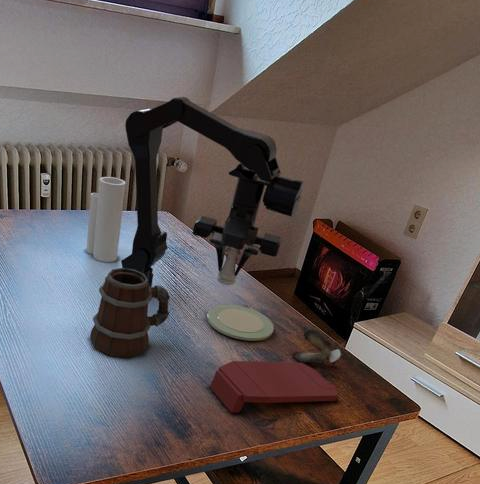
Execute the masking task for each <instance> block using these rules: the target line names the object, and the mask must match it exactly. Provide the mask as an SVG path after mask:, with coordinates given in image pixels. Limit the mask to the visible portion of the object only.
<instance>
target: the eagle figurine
mask: <svg viewBox="0 0 480 484" xmlns="http://www.w3.org/2000/svg"><path fill="white" fill-rule="evenodd" d="M303 337H304V339H305V340H306V341H307V342H308V343H309V344H310V345H311V346H312V347H314V348H315V349H317V350H319V352H318V351H317V352H316V351H315V352H313V351H311V352H309V351H308V352H299V353H296V354H295V355H294V358H295V359H296V360H297V361H299V363H304V364H305V363H316V364H323V363H324V362H325V361H326V360H327V361H329V362H330V363H331V367H332V368H336V367H335V366H336V363H340V360H339V359H340V358H341V357H342V356H344V353H342V351H343V348H344V345H345V343H341V344H340V346H339V347H338V348H336V349H333V345H332V342H331V341H330V340H328V339H326V338H325V336H323V334H322V332H321V331H319V330H316V329H312V328H309V329H307V330H305V331H304V332H303ZM332 349H333V350H332Z"/></svg>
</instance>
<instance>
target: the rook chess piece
mask: <svg viewBox="0 0 480 484" xmlns="http://www.w3.org/2000/svg"><path fill="white" fill-rule="evenodd" d="M225 252H226V256H225V261H224V262H223V265H222V269H221V271H219V270H218V272H217V276H216V280H217V282H218V283H219V284H222V285H225V286H233V285H234V284H235V283H236V281H237V276H235V272H236V264H237V261H238V257H239V256H240V255H241V250H237V249H235V248H233V247H229V246H228V248H227V249H226V248H225Z"/></svg>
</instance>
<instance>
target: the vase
mask: <svg viewBox="0 0 480 484" xmlns="http://www.w3.org/2000/svg"><path fill="white" fill-rule="evenodd" d="M125 191H126V181H125V180H124V179H122V178H121V179H120V178H118V177H113V176H102V177H99V182H98V192H91V193H90V201H89V211H88V212H89V214H88V225H87V226H88V227H87V238H86V250H85V251H86V253H87V254H89V255H92V257H93V258H94V259H95V260H98V261H100V262H104V263H111V262H116V261H117V260H118V253H119V244H120V237H121V236H120V235H121V228H122V226H121V225H122V218H123V209H124V201H125V193H126V192H125Z"/></svg>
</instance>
